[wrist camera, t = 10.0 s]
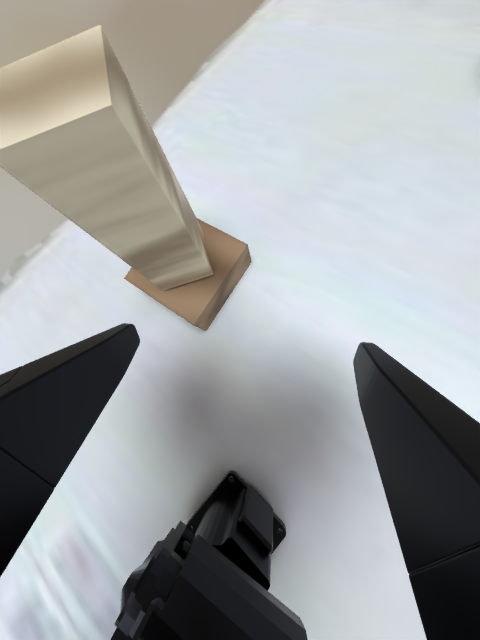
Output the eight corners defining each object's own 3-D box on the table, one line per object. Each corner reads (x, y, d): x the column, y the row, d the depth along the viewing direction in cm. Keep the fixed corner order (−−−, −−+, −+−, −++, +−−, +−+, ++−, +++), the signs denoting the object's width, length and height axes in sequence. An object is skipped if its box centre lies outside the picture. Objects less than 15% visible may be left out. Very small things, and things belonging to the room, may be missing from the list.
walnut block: (207, 331, 23) (193, 325, 19) (146, 291, 25) (124, 278, 22) (251, 263, 24) (247, 244, 20) (189, 229, 26) (174, 206, 22)
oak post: (213, 274, 20) (111, 104, 7) (163, 290, 20) (-15, 155, 8) (202, 230, 21) (100, 24, 9) (155, 246, 22) (-7, 70, 9)
